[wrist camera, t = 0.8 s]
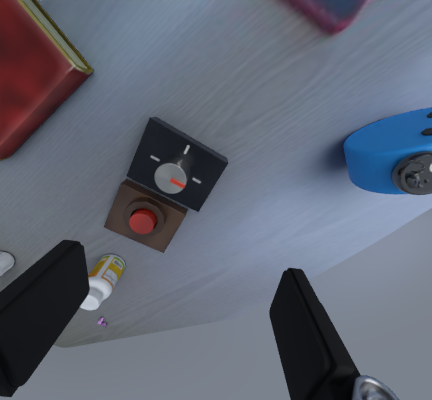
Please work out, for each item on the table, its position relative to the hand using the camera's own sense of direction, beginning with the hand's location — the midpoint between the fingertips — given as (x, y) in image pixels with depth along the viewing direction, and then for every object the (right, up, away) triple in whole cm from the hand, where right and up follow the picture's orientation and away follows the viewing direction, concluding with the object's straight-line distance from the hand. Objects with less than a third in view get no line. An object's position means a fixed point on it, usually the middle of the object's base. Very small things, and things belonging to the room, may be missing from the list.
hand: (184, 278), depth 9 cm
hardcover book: (-28, +21, +20) cm, 40 cm away
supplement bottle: (-21, -10, +34) cm, 41 cm away
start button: (-11, +1, +25) cm, 27 cm away
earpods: (-27, -27, +42) cm, 57 cm away
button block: (-12, +1, +29) cm, 31 cm away
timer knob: (-5, +8, +22) cm, 24 cm away
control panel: (-5, +10, +25) cm, 27 cm away
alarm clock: (+26, +13, +23) cm, 38 cm away
